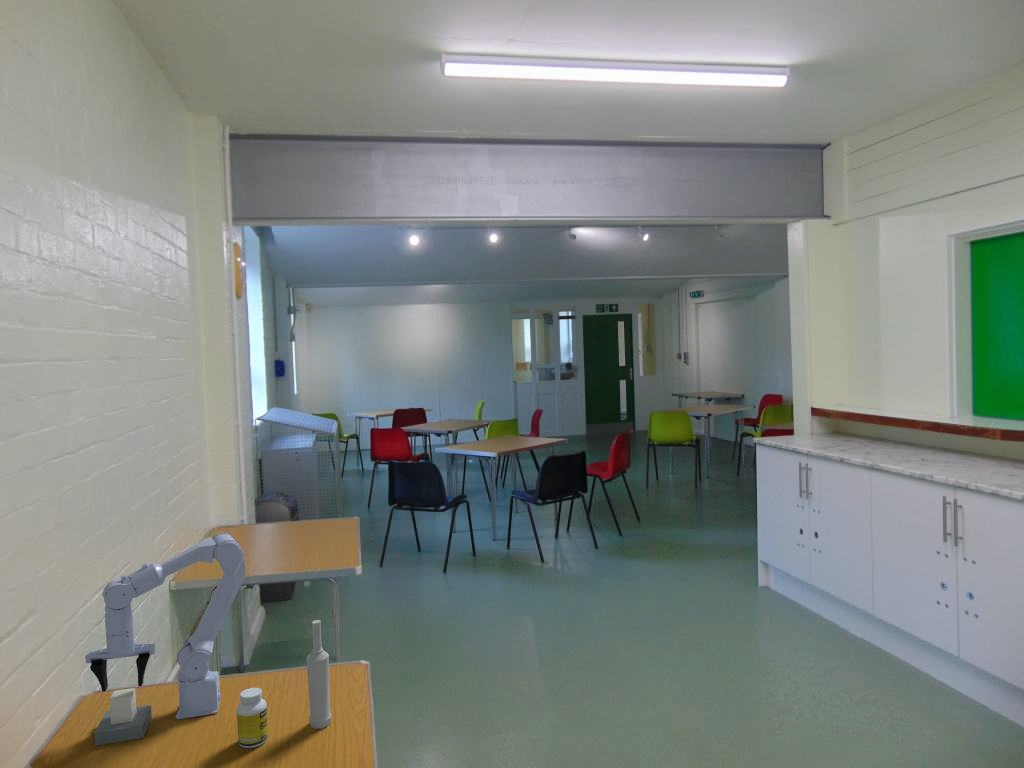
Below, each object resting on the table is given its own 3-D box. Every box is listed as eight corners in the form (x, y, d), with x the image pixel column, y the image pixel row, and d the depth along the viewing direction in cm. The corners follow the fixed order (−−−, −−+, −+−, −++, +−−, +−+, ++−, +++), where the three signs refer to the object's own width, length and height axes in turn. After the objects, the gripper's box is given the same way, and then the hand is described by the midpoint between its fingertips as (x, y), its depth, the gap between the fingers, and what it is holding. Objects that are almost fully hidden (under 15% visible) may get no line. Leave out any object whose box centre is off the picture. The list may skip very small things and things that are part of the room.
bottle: (336, 722, 171) (331, 621, 169) (317, 731, 167) (312, 627, 166) (324, 715, 174) (319, 615, 173) (305, 724, 171) (300, 622, 169)
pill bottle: (258, 750, 160) (255, 700, 159) (232, 748, 161) (229, 698, 161) (273, 734, 166) (271, 686, 166) (248, 732, 168) (246, 684, 167)
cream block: (136, 711, 173) (135, 687, 172) (132, 721, 168) (130, 696, 168) (115, 715, 171) (114, 690, 171) (110, 724, 167) (109, 699, 167)
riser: (151, 716, 176) (151, 704, 176) (143, 737, 166) (142, 725, 166) (106, 723, 173) (105, 711, 173) (95, 745, 164) (94, 733, 164)
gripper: (156, 620, 175) (159, 674, 176) (90, 629, 171) (93, 684, 172) (150, 631, 168) (154, 687, 169) (81, 640, 164) (85, 698, 165)
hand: (123, 687), depth 170 cm, fingers open, 7 cm apart
